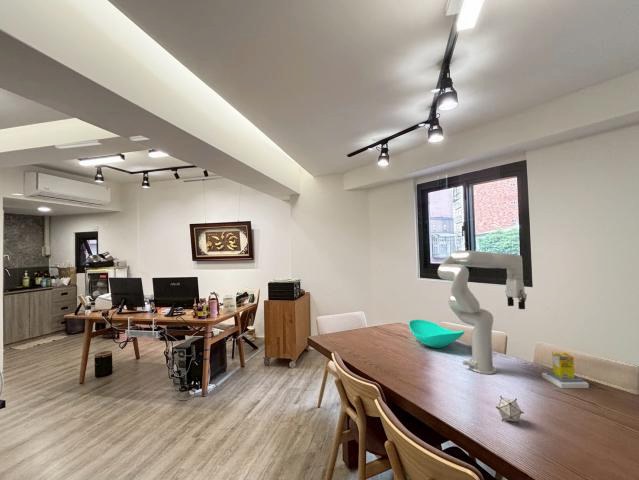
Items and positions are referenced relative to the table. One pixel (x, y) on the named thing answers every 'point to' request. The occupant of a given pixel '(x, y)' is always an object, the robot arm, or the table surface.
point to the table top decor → (433, 333)
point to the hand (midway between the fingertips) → (516, 307)
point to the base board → (565, 381)
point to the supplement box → (563, 365)
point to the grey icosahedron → (509, 409)
